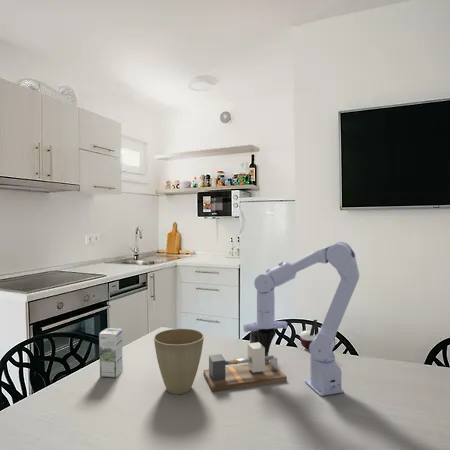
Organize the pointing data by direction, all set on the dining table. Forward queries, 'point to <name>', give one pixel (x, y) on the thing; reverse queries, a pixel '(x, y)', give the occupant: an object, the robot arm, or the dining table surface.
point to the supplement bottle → (255, 339)
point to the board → (245, 377)
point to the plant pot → (178, 357)
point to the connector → (217, 367)
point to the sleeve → (256, 357)
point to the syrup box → (110, 352)
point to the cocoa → (308, 336)
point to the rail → (271, 359)
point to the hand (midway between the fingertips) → (265, 351)
